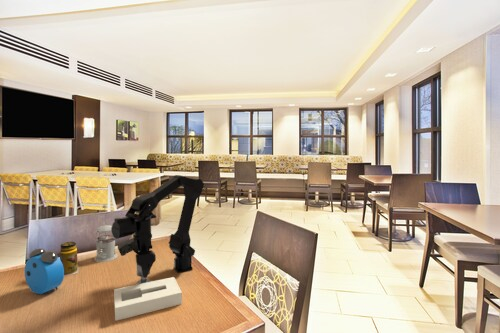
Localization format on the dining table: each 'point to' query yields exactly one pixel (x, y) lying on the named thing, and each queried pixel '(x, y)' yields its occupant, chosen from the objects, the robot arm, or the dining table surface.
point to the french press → (105, 244)
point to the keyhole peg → (141, 275)
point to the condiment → (69, 258)
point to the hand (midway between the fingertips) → (143, 272)
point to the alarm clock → (43, 271)
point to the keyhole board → (146, 298)
